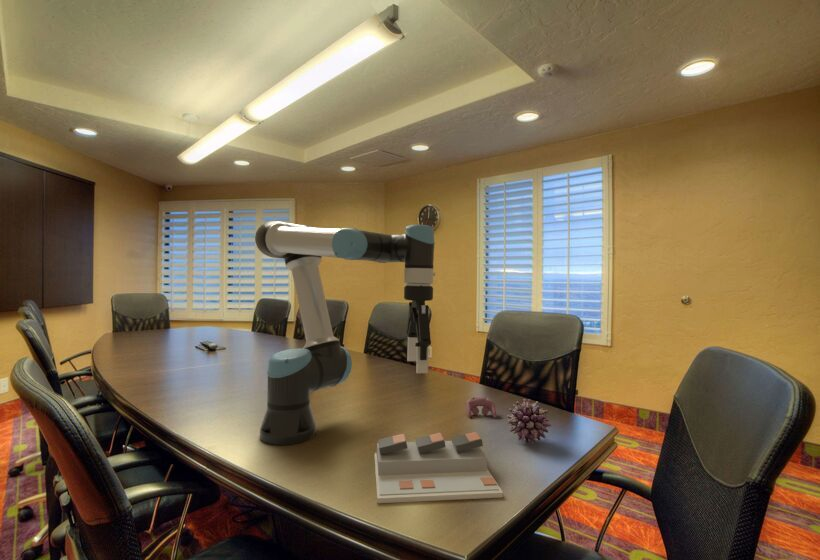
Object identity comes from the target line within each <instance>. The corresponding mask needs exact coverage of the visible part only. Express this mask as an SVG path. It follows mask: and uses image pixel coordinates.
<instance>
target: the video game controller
mask: <svg viewBox="0 0 820 560" xmlns="http://www.w3.org/2000/svg"><path fill="white" fill-rule="evenodd" d="M495 405H496V404H495V403H494V401H493V400H492V399H491V398H489V397H484V396H483V397H482V396H474V397H470V398H469V399H467V400H466V402H465V411H466V412H465V413H466V415H467V417H468V418H469V419H471V417H472V415H474V416H477V415H479V413H480V409H479V408H478V407H481V414H482V415H484V416H486V415H488V414H489V412H490V413H491V415H492V417H493V418H494V419H496V418H497V410H496V406H495Z"/></svg>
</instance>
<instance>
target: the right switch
mask: <svg viewBox="0 0 820 560" xmlns="http://www.w3.org/2000/svg"><path fill="white" fill-rule="evenodd" d="M450 440H451V441H452V444H453V446H454V448H455V450H456V451H457V452H461V451H465V450H469V449H473V448H477V447H480V448H481V447H484V444H483V440H482V437H481V436H480V435H479V434H478V432H477V431H473V432H468V433H463V434H460V435H457V436H456V435H455V436H452V437H451V439H450Z"/></svg>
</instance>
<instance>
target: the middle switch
mask: <svg viewBox="0 0 820 560" xmlns="http://www.w3.org/2000/svg"><path fill="white" fill-rule="evenodd" d="M414 440H415V442H416V445H417V448H418V452H419V454H420V453H424V452H428V451H432V450H436V449H440V448H444V447H446V446H445V441H446V440H445V439H444V437H443V434H442V432H437V433H432V434H428V435H424V436H420V437H416V438H415V439H414Z"/></svg>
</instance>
